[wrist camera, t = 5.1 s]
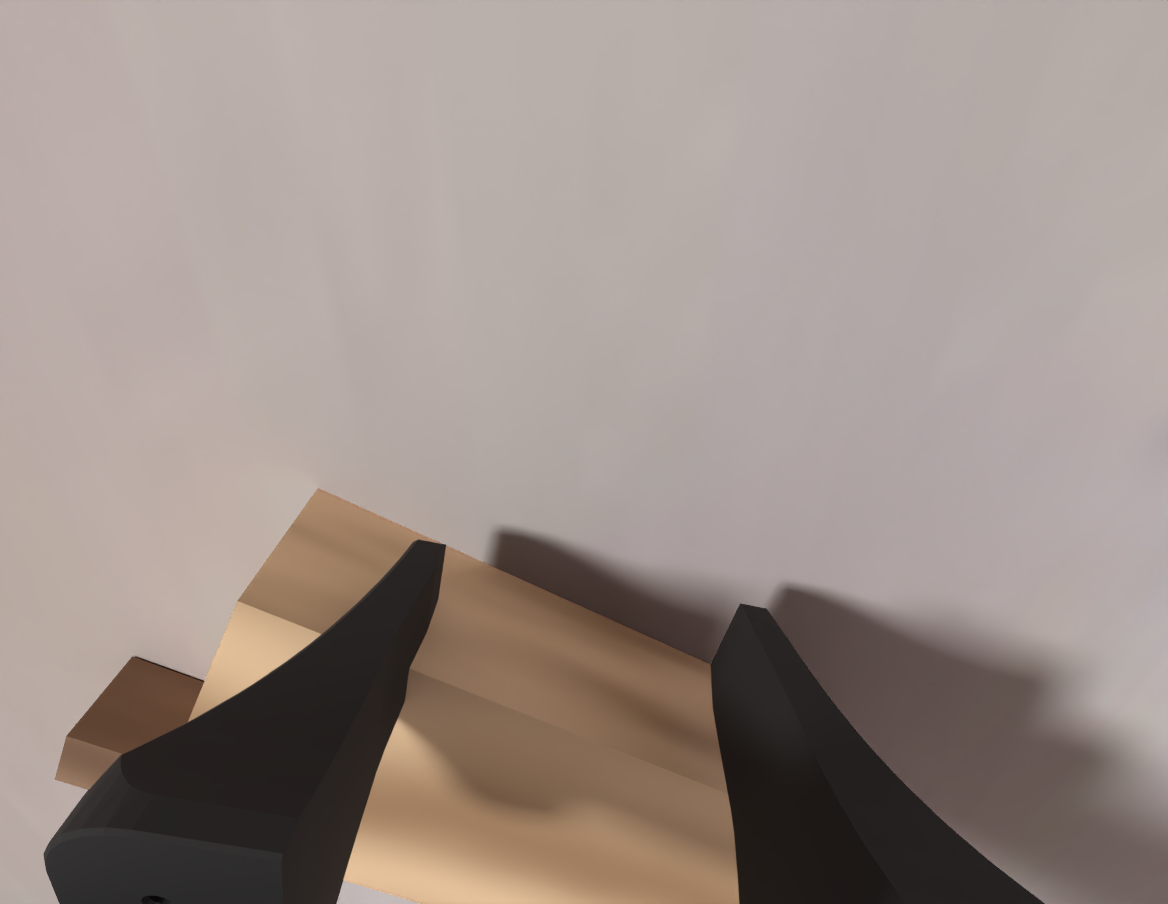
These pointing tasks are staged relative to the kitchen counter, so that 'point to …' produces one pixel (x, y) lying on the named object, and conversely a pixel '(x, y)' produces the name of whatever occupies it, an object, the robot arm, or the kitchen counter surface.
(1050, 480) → the kitchen counter surface
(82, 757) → the bar
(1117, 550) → the kitchen counter surface
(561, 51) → the kitchen counter surface
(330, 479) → the kitchen counter surface
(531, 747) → the wooden block
